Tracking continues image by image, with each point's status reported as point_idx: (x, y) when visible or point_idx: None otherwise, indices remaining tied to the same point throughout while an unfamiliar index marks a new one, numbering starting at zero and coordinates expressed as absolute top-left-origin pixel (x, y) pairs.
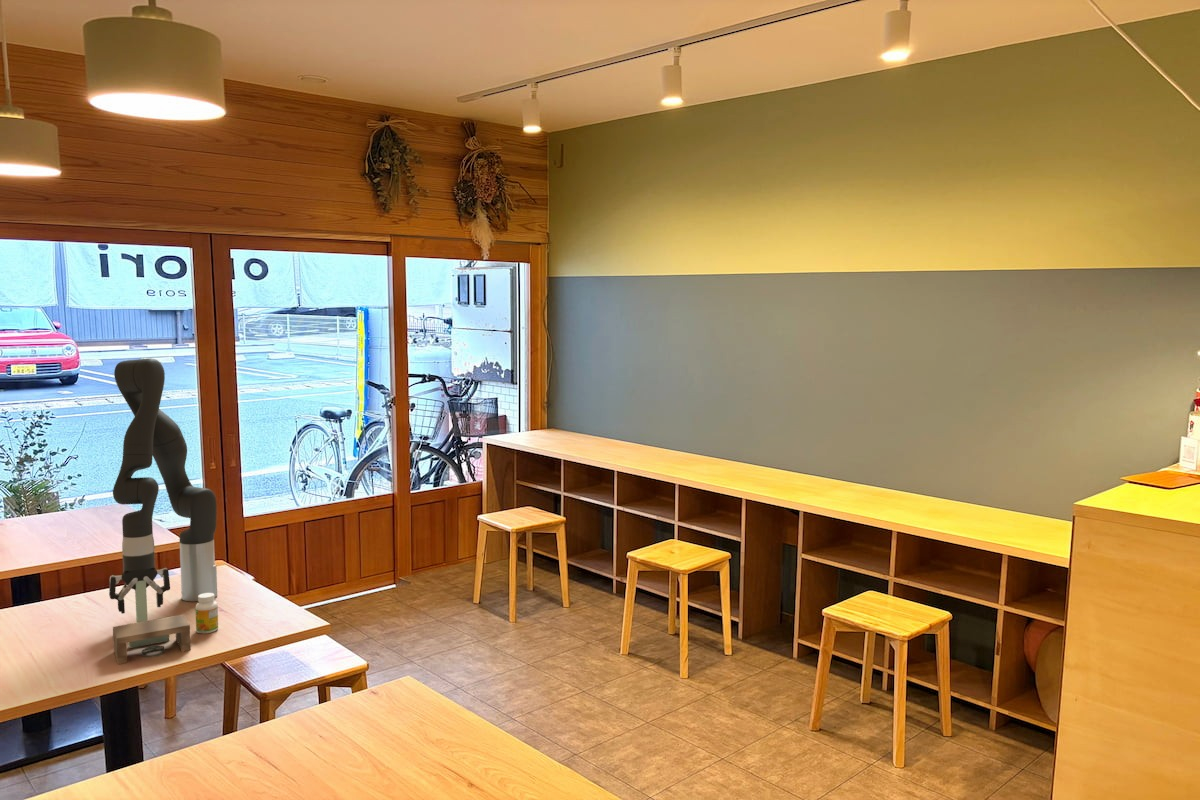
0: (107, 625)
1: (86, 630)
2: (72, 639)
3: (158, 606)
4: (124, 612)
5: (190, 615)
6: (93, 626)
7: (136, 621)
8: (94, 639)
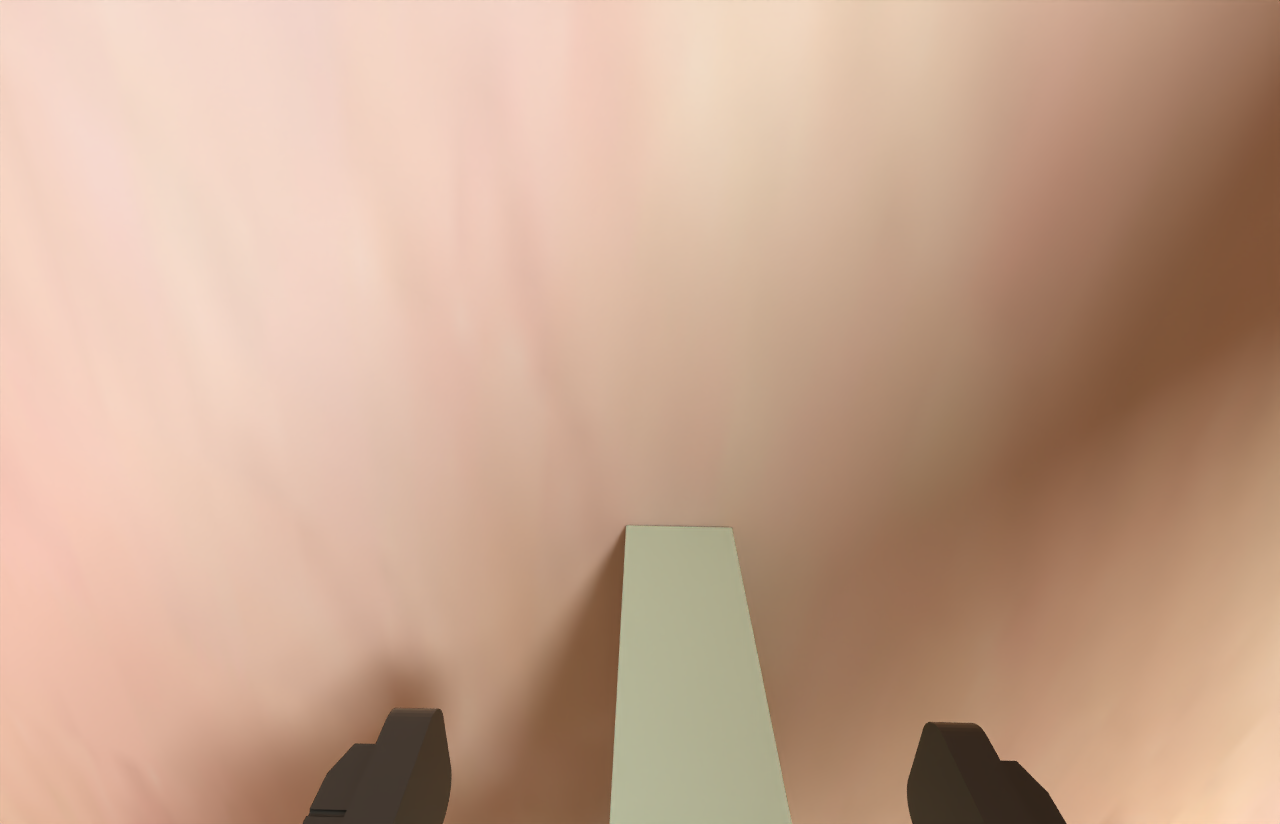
0: (300, 314)
1: (70, 361)
2: (6, 563)
3: (921, 821)
4: (444, 803)
5: (1231, 506)
6: (119, 248)
7: (624, 563)
8: (234, 663)
